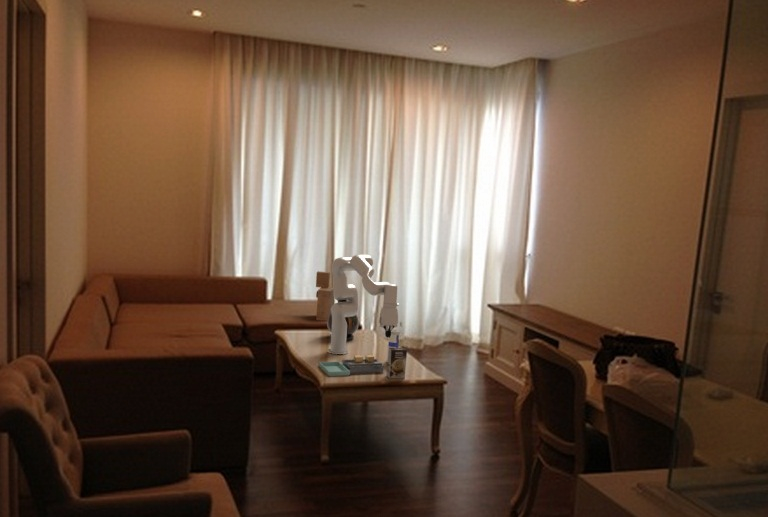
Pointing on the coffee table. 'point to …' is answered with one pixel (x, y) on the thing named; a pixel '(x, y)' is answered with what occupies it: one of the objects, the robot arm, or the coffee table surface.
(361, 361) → the tan wooden cube
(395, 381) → the coffee table surface
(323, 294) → the tan blocky figurine
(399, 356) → the coffee box
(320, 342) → the coffee table surface
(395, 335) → the water bottle
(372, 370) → the grey flat channelled block
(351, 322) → the amphora vase
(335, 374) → the tray
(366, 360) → the tan wooden block
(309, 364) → the coffee table surface
